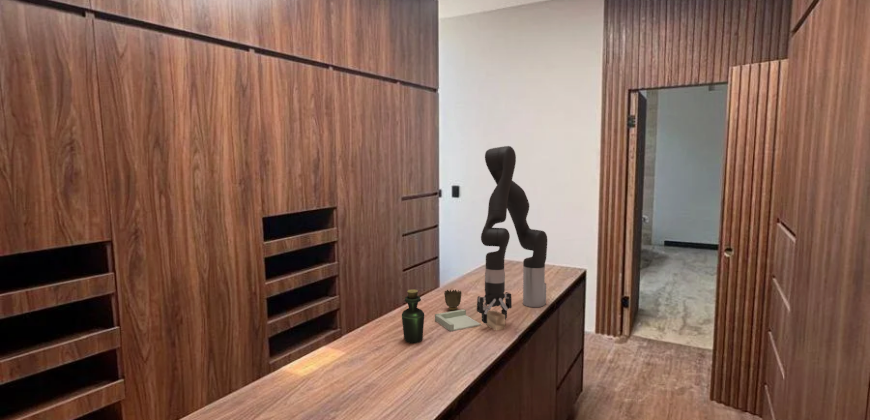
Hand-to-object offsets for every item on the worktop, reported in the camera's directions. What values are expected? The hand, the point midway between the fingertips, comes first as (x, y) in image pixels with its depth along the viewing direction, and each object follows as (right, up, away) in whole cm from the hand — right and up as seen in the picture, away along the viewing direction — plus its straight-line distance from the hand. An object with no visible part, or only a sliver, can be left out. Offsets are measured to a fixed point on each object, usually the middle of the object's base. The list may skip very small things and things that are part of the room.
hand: (494, 321), depth 175 cm
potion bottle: (-30, -4, -11) cm, 33 cm away
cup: (-15, 0, +20) cm, 25 cm away
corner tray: (-14, -2, +5) cm, 15 cm away
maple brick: (0, -2, 0) cm, 2 cm away
